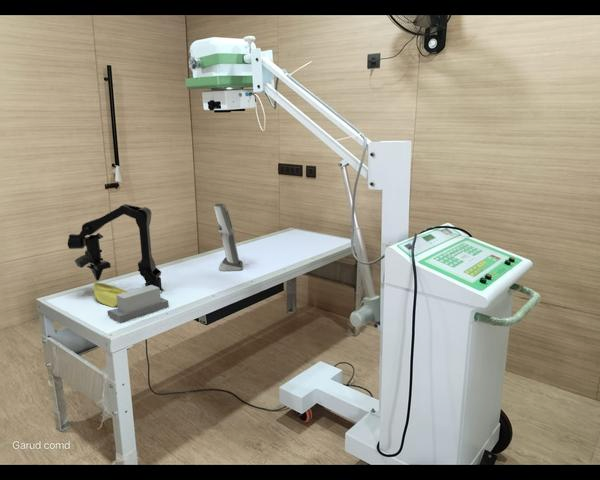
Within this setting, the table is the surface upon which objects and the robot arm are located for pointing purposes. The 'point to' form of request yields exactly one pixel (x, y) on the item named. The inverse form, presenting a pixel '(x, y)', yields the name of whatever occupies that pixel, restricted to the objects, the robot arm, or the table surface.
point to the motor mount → (138, 303)
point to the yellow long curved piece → (107, 294)
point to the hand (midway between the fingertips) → (97, 280)
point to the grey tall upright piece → (227, 240)
